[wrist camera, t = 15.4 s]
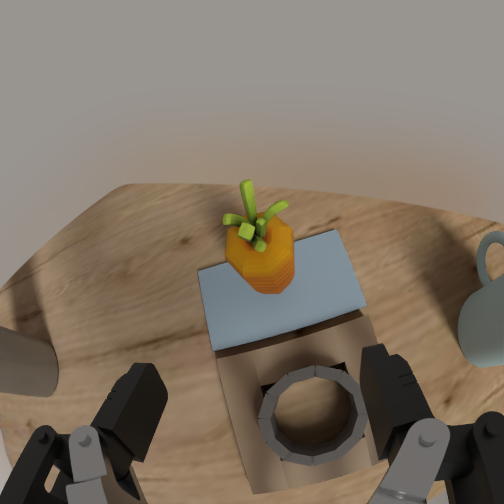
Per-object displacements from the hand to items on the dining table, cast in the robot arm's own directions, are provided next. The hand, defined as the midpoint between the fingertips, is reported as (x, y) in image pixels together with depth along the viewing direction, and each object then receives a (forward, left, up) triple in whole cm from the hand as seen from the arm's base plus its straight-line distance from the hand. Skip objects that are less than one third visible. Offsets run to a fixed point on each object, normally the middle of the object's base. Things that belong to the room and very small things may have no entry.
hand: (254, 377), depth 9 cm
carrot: (+1, +8, -16) cm, 19 cm away
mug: (+24, -2, -17) cm, 29 cm away
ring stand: (+2, -5, -17) cm, 17 cm away
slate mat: (+2, +8, -17) cm, 19 cm away
